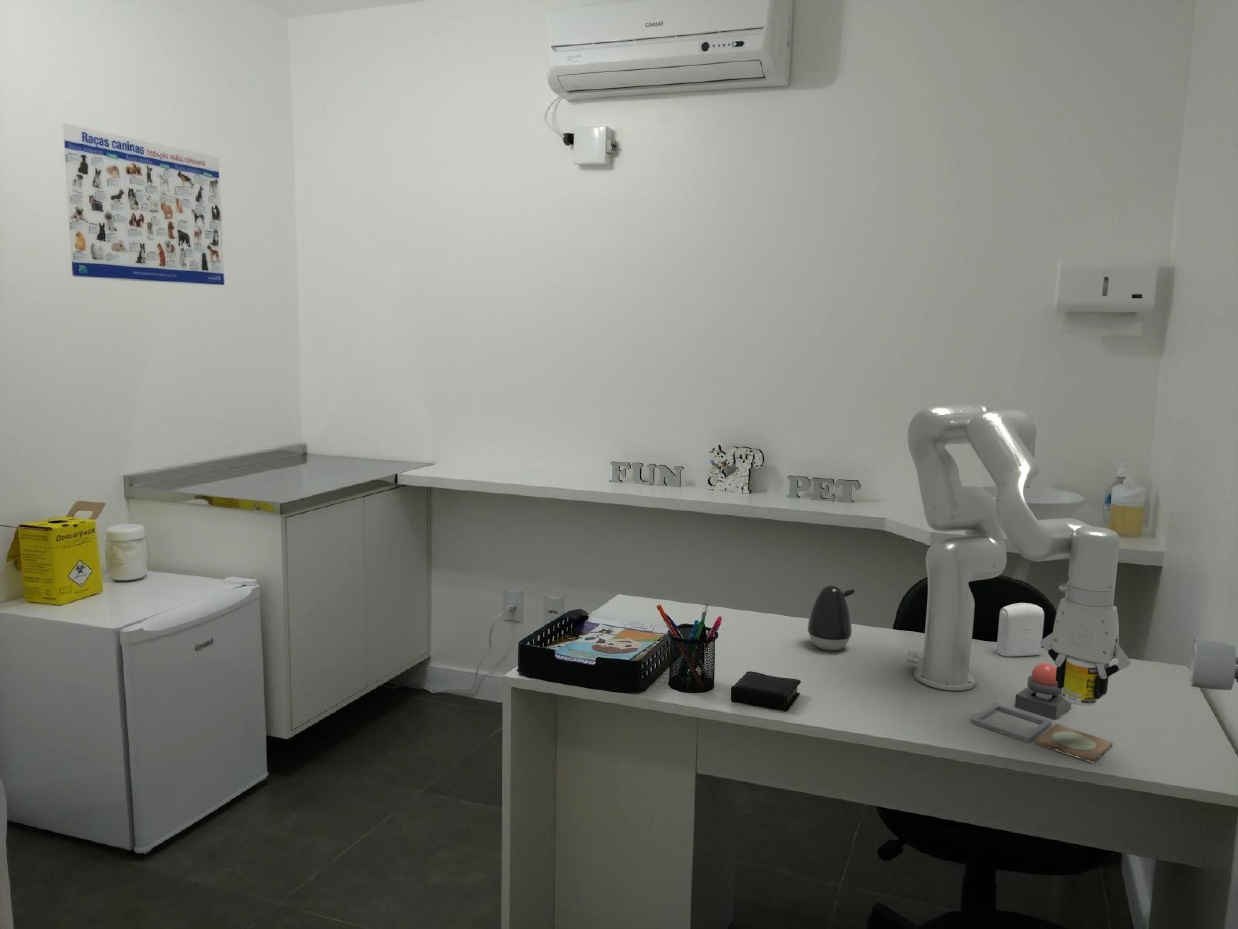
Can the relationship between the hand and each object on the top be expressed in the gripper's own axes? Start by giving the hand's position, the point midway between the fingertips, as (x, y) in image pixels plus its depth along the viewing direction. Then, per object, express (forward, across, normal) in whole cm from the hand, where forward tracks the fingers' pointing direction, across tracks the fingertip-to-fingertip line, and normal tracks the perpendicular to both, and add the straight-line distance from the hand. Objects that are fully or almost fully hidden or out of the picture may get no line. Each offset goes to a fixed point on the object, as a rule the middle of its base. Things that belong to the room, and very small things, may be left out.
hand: (1080, 690), depth 161 cm
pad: (+11, 0, 0) cm, 11 cm away
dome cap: (+9, -11, +13) cm, 19 cm away
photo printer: (+10, -27, +40) cm, 49 cm away
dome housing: (+10, -11, +13) cm, 20 cm away
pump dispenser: (+10, -59, +9) cm, 60 cm away
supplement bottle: (+2, 0, 0) cm, 2 cm away
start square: (+10, -12, 0) cm, 16 cm away
